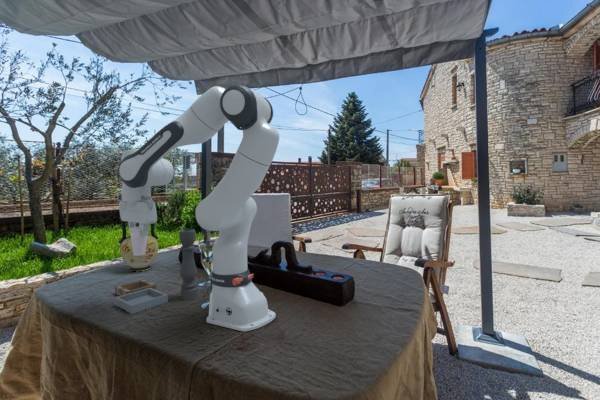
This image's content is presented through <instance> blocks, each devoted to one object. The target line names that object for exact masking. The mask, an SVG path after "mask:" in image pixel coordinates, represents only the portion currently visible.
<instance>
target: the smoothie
mask: <svg viewBox="0 0 600 400" xmlns="http://www.w3.org/2000/svg"><path fill="white" fill-rule="evenodd" d="M128 230H129V233H130V235H131V242H132V248H133V255H134V256H140V255H145V252H146V244H147V236H141V231H142V226H141V223H139V226H137V227H128ZM149 230H150V228H149V229H148V231H149ZM130 235H129V236H130Z"/></svg>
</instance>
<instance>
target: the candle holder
mask: <svg viewBox="0 0 600 400" xmlns="http://www.w3.org/2000/svg"><path fill="white" fill-rule="evenodd" d="M178 236H179V239H178V240H179V242H180V243H181V246H180V251H181V252H182V261H181V265H180V271H179V275H180V277H181V279H182V283H181V285H180V287H181V288H180V290H179V291H180V299H181V300H182V301H191V300H194V299H197V298H198V297H199V288H198V286H197V285H198V283H197V281H196V277H197V276H198V269H197V266H196V262H195V257H194V255H195V254H194V250H195V249H196V246H195V245H194V244H195V241H196V239H197V238H196V237H197V236H196V230H195V229H181V230H179V231H178Z"/></svg>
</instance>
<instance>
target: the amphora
mask: <svg viewBox="0 0 600 400" xmlns="http://www.w3.org/2000/svg"><path fill="white" fill-rule="evenodd" d="M119 221H120V225H121V226H120V227H121V234H122V237H121V238H120V239H119V240H118V244H120V245H119V255H120V257H121V259H122V261H123V262H124V263H125V264H126V265H127V266H128V267H129V268H130V269H129V271H130V272H131V271H143V272H145V271H144V270H147V271H149V270H148V269H150V268H151V269H152V267H151V264H152V263H153V262H154V261H155V260H156V258H157V255H158V253H159V242H158V240H159V237H158V236H157V234H155V233H156V231H155V230H156V228H155V225H156V223H153V224H150V234H148V236H147V244H146V252H145V255H140V256H134V255H133V248H132V242H131V235H129V236H127V227H126V221H122V220H121V217H119ZM135 225H136V227H137V226H139V223H136V224H135ZM151 269H150V270H151Z"/></svg>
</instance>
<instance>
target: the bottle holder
mask: <svg viewBox="0 0 600 400" xmlns="http://www.w3.org/2000/svg"><path fill="white" fill-rule="evenodd" d="M147 288H152V289H155V290H157V284H156V283H154V282H151V281H149V280H145V279H138V280H135V281H131V282H128V283H124V284H123V283H122V284H120V285H115V286H114V294H115V295H116V294H117V295H116V296H118V295H119V296H122V295H126V294H129V293H133V292H136V291H140V290H144V289H147Z"/></svg>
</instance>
